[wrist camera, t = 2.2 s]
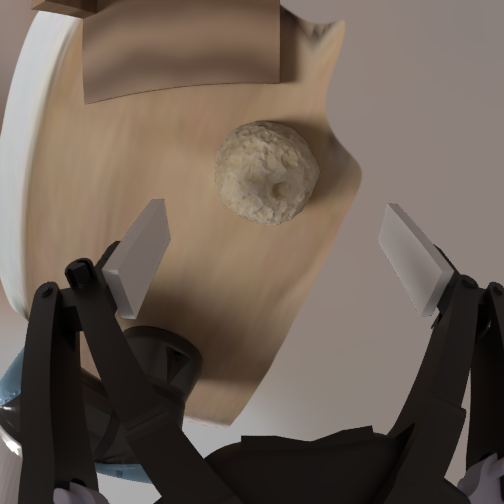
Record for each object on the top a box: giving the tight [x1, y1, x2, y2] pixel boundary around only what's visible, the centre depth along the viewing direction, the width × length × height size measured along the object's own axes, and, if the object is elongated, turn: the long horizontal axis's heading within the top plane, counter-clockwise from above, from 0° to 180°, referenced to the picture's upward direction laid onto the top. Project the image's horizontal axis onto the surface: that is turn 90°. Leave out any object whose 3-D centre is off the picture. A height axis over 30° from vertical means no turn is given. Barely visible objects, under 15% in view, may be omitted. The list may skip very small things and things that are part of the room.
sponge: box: [215, 121, 320, 226], centre depth 23 cm, size 9×10×10 cm
